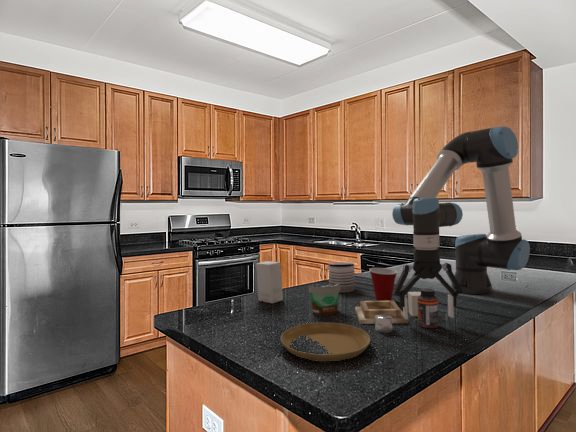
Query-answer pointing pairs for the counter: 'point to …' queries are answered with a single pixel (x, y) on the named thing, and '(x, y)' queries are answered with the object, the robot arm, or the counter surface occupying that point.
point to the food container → (325, 299)
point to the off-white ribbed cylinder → (342, 275)
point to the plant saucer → (328, 340)
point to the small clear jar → (383, 323)
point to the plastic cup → (383, 283)
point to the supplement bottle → (428, 308)
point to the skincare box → (269, 281)
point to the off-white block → (413, 303)
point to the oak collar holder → (379, 311)
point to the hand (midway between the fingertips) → (428, 316)
